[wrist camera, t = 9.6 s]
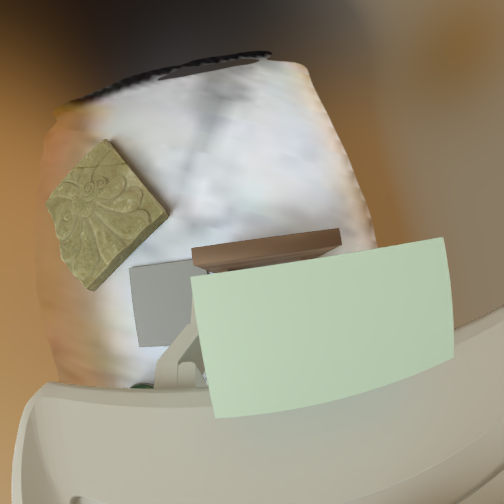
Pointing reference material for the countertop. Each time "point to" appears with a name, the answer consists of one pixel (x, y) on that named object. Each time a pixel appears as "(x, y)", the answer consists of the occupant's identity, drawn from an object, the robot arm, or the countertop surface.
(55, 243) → the countertop surface
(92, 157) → the decorative tile
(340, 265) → the pale green block
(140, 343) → the grey mat
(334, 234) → the walnut rack
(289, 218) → the countertop surface
